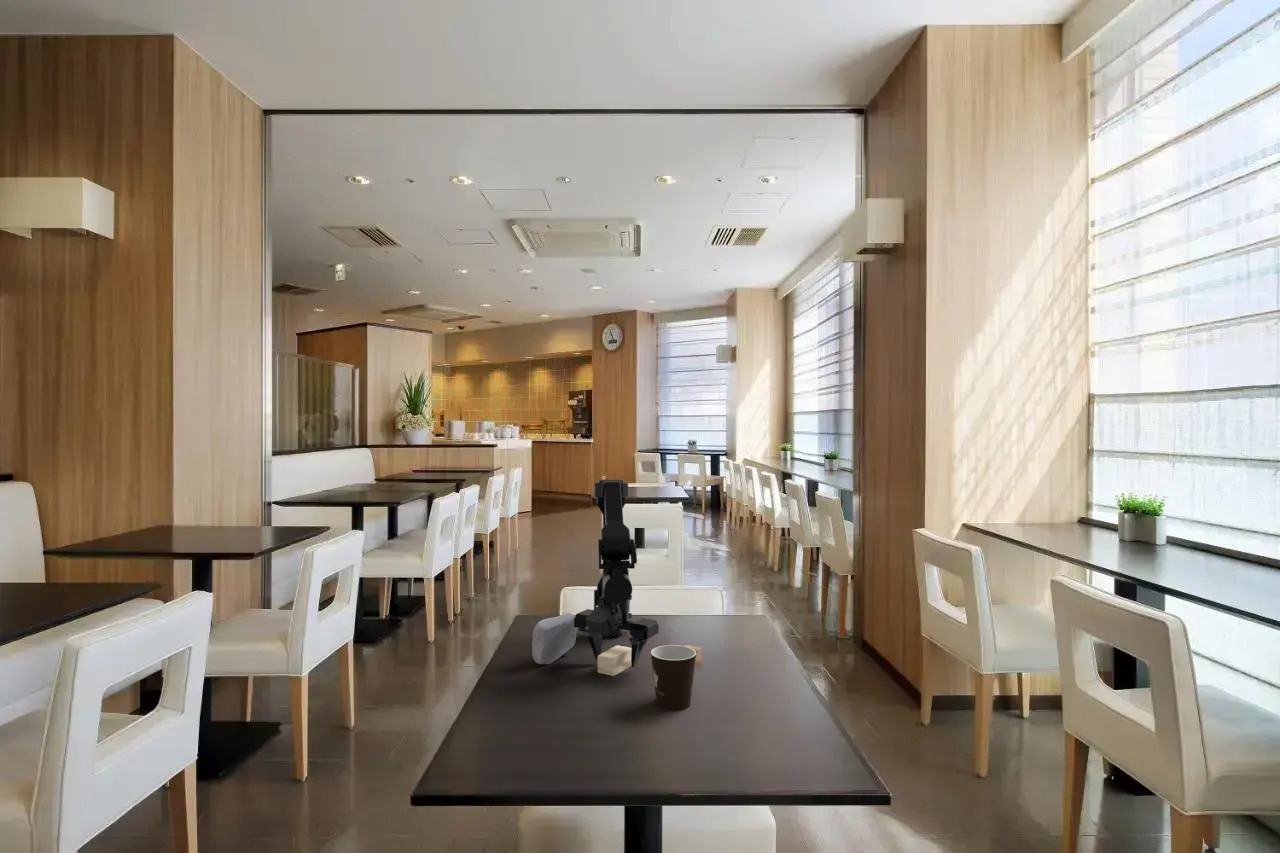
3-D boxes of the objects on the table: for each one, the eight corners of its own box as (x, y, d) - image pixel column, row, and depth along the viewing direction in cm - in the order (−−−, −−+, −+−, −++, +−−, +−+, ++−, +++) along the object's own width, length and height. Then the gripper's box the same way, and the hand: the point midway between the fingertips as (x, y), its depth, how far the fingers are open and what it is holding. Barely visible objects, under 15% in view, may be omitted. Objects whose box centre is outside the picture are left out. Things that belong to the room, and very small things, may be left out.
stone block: (544, 671, 148) (544, 625, 148) (529, 666, 151) (529, 621, 151) (581, 656, 158) (582, 613, 158) (566, 652, 161) (566, 609, 160)
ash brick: (617, 663, 154) (617, 645, 154) (632, 666, 152) (632, 648, 152) (597, 674, 147) (597, 655, 147) (613, 677, 145) (613, 658, 145)
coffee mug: (693, 716, 126) (693, 661, 126) (646, 712, 128) (647, 658, 128) (700, 691, 137) (700, 641, 137) (657, 688, 139) (657, 639, 139)
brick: (686, 662, 155) (686, 644, 155) (702, 665, 153) (702, 647, 152) (668, 673, 148) (668, 654, 148) (684, 677, 146) (684, 658, 146)
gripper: (558, 594, 147) (558, 666, 147) (633, 605, 138) (633, 683, 138) (588, 583, 157) (587, 651, 157) (660, 593, 148) (659, 666, 148)
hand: (615, 663), depth 150 cm, fingers open, 9 cm apart
